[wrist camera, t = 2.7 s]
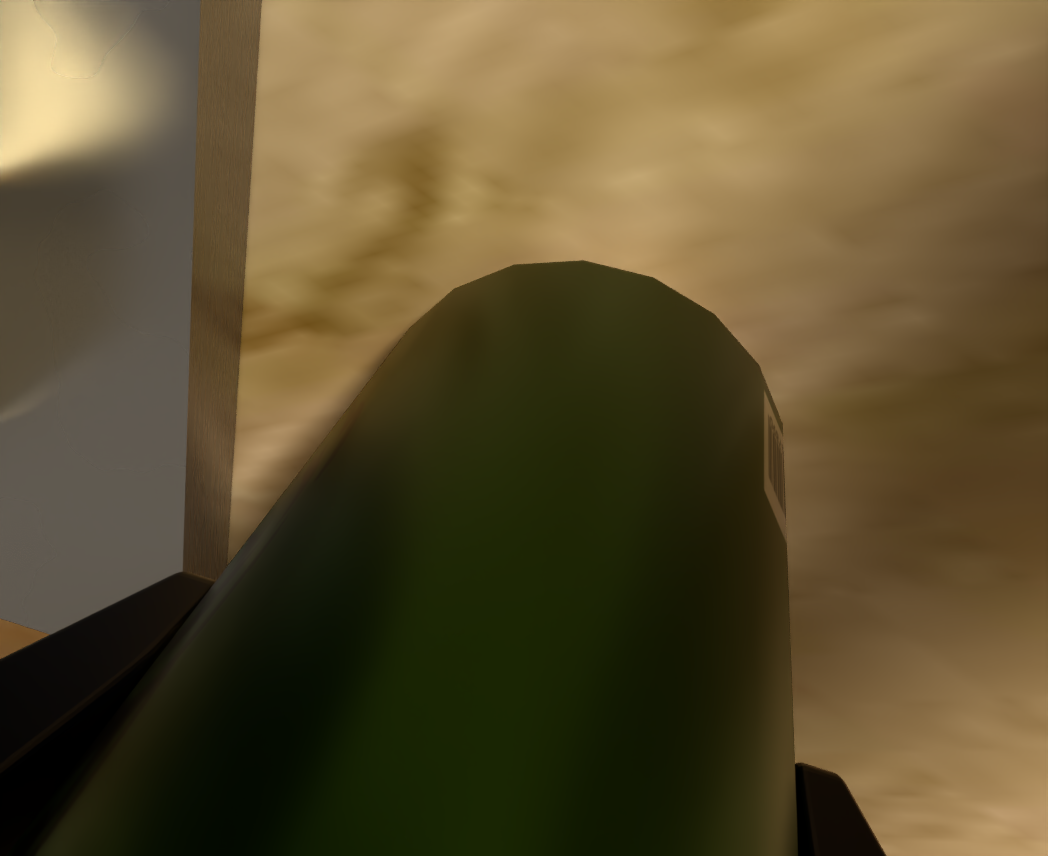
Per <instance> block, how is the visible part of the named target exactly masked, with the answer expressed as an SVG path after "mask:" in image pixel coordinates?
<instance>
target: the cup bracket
mask: <svg viewBox="0 0 1048 856" xmlns="http://www.w3.org/2000/svg"><path fill="white" fill-rule="evenodd" d="M261 3H262V0H0V619H4V620H7V621H10V622H13V623H16V624H19V625H22V626H25V627H29V628H32V629H35V630H38V631H41V632H44V633H47V634H50V635H51V634H53V633H55V632H57V631H59V630H61V629H63V628H65V627H67V626H69V625H71V624H73V623H75V622H77V621H79V620H81V619H83V618H85V617H87V616H89V615H91V614H93V613H95V612H97V611H99V610H101V609H103V608H105V607H107V606H109V605H112V604H114V603H116V602H118V601H120V600H122V599H124V598H126V597H128V596H130V595H132V594H134V593H136V592H138V591H140V590H142V589H144V588H146V587H148V586H150V585H152V584H154V583H156V582H158V581H160V580H162V579H164V578H166V577H168V576H170V575H172V574H175V573H178V572H182V571H185V572H190V573H194V574H197V575H200V576H203V577H207V578H210V579H213V580H216V581H217V579H218V578H219V577H220V575H221V574H222V573H223V571H224V570H225V569H226V567H227V553H228V537H229V521H230V504H231V488H232V472H233V456H234V440H235V424H236V407H237V391H238V375H239V359H240V343H241V327H242V310H243V294H244V278H245V262H246V246H247V230H248V213H249V197H250V181H251V165H252V149H253V133H254V116H255V100H256V84H257V68H258V52H259V36H260V19H261Z"/></svg>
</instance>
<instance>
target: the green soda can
mask: <svg viewBox="0 0 1048 856" xmlns="http://www.w3.org/2000/svg"><path fill="white" fill-rule="evenodd" d="M6 856H798V837H797V809H796V782H795V754H794V727H793V699H792V672H791V644H790V617H789V589H788V562H787V534H786V507H785V479H784V452H783V424H782V421H781V419H780V416H779V414H778V411H777V409H776V406H775V404H774V401H773V399H772V396H771V394H770V391H769V389H768V386H767V384H766V381H765V379H764V376H763V374H762V371H761V369H760V366H759V364H758V363H757V362H756V361H755V360H754V359H753V358H752V356H751V355H750V354H749V353H748V352H747V351H746V350H745V348H744V347H743V346H742V345H741V344H740V343H739V342H738V340H737V339H736V338H735V337H734V336H733V335H732V334H731V333H730V331H729V330H728V329H727V328H726V327H725V326H724V325H723V323H722V322H721V321H720V320H719V319H718V318H717V317H716V315H715V314H713V313H712V312H710V311H708V310H707V309H705V308H703V307H702V306H700V305H698V304H697V303H695V302H693V301H692V300H690V299H688V298H687V297H685V296H683V295H682V294H680V293H678V292H677V291H675V290H673V289H672V288H670V287H668V286H667V285H665V284H663V283H662V282H660V281H658V280H656V279H655V278H653V277H649V276H645V275H641V274H637V273H633V272H629V271H624V270H620V269H616V268H612V267H608V266H604V265H600V264H596V263H592V262H588V261H584V260H582V261H566V262H550V263H534V264H517V265H512V266H510V267H507V268H505V269H502V270H500V271H497V272H495V273H492V274H490V275H487V276H485V277H482V278H480V279H477V280H475V281H472V282H470V283H467V284H465V285H462V286H460V287H457V288H455V289H453V290H452V291H451V292H450V293H449V294H448V295H446V296H445V297H444V298H443V299H442V300H441V301H440V302H439V303H437V304H436V305H435V306H434V307H433V308H432V309H431V310H430V311H428V312H427V313H426V314H425V315H424V316H423V317H422V318H421V319H419V320H418V321H417V322H416V323H415V324H414V325H413V326H412V327H410V328H409V330H408V331H407V332H406V333H405V335H404V336H403V337H402V339H401V340H400V341H399V343H398V344H397V345H396V347H395V348H394V349H393V350H392V352H391V353H390V354H389V356H388V357H387V358H386V360H385V361H384V362H383V364H382V365H381V366H380V367H379V369H378V370H377V371H376V373H375V374H374V375H373V377H372V378H371V379H370V381H369V382H368V383H367V384H366V386H365V387H364V388H363V390H362V391H361V392H360V394H359V395H358V396H357V398H356V399H355V400H354V401H353V403H352V404H351V405H350V407H349V408H348V409H347V411H346V412H345V413H344V415H343V416H342V417H341V418H340V420H339V421H338V422H337V424H336V425H335V426H334V428H333V429H332V430H331V432H330V433H329V434H328V435H327V437H326V438H325V439H324V441H323V442H322V443H321V445H320V446H319V447H318V449H317V450H316V451H315V452H314V454H313V455H312V456H311V458H310V459H309V460H308V462H307V463H306V464H305V465H304V467H303V468H302V469H301V471H300V472H299V473H298V475H297V476H296V477H295V479H294V480H293V481H292V482H291V484H290V485H289V486H288V488H287V489H286V490H285V492H284V493H283V494H282V496H281V497H280V498H279V499H278V501H277V502H276V503H275V505H274V506H273V507H272V509H271V510H270V511H269V513H268V514H267V515H266V516H265V518H264V519H263V520H262V522H261V523H260V524H259V526H258V527H257V528H256V530H255V531H254V532H253V533H252V535H251V536H250V537H249V539H248V540H247V541H246V543H245V544H244V545H243V547H242V548H241V549H240V550H239V552H238V553H237V554H236V556H235V557H234V558H233V560H232V561H231V562H230V564H229V565H228V566H227V567H226V569H225V570H224V571H223V573H222V574H221V575H220V577H219V578H218V579H217V581H216V582H215V583H214V584H213V586H212V587H211V588H210V590H209V591H208V592H207V594H206V595H205V596H204V598H203V599H202V600H201V601H200V603H199V604H198V605H197V607H196V608H195V609H194V611H193V612H192V613H191V615H190V616H189V617H188V618H187V620H186V621H185V622H184V624H183V625H182V626H181V628H180V629H179V630H178V631H177V633H176V634H175V635H174V637H173V638H172V639H171V641H170V642H169V643H168V645H167V646H166V647H165V648H164V650H163V651H162V652H161V654H160V655H159V656H158V658H157V659H156V660H155V662H154V663H153V664H152V665H151V667H150V668H149V669H148V671H147V672H146V673H145V675H144V676H143V677H142V679H141V680H140V681H139V682H138V684H137V685H136V686H135V688H134V689H133V690H132V692H131V693H130V694H129V696H128V697H127V698H126V699H125V701H124V702H123V703H122V705H121V706H120V707H119V709H118V710H117V711H116V713H115V714H114V715H113V716H112V718H111V719H110V720H109V722H108V723H107V724H106V726H105V727H104V728H103V730H102V731H101V732H100V733H99V735H98V736H97V737H96V739H95V740H94V741H93V743H92V744H91V745H90V747H89V748H88V749H87V750H86V752H85V753H84V754H83V756H82V757H81V758H80V760H79V761H78V762H77V764H76V765H75V766H74V767H73V769H72V770H71V771H70V773H69V774H68V775H67V777H66V778H65V779H64V780H63V782H62V783H61V784H60V786H59V787H58V788H57V790H56V791H55V792H54V794H53V795H52V796H51V797H50V799H49V800H48V801H47V803H46V804H45V805H44V807H43V808H42V809H41V811H40V812H39V813H38V814H37V816H36V817H35V818H34V820H33V821H32V822H31V824H30V825H29V826H28V828H27V829H26V830H25V831H24V833H23V834H22V835H21V837H20V838H19V839H18V841H17V842H16V843H15V845H14V846H13V847H12V848H11V850H10V851H9V852H8V854H7V855H6Z"/></svg>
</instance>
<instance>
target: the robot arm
mask: <svg viewBox="0 0 1048 856" xmlns="http://www.w3.org/2000/svg"><path fill="white" fill-rule="evenodd" d="M215 582H216V580H213V579H210V578H207V577H203V576H200V575H197V574H194V573H190V572H185V571H182V572H178V573H175V574H172V575H170V576H168V577H166V578H164V579H162V580H160V581H158V582H156V583H154V584H152V585H150V586H148V587H146V588H144V589H142V590H140V591H138V592H136V593H134V594H132V595H130V596H128V597H126V598H124V599H122V600H120V601H118V602H116V603H114V604H112V605H109V606H107V607H105V608H103V609H101V610H99V611H97V612H95V613H93V614H91V615H89V616H87V617H85V618H83V619H81V620H79V621H77V622H75V623H73V624H71V625H69V626H67V627H65V628H63V629H61V630H59V631H57V632H55V633H53V634H51V635H49V636H46V637H44V638H42V639H40V640H38V641H36V642H34V643H32V644H30V645H28V646H26V647H24V648H22V649H20V650H18V651H16V652H14V653H12V654H10V655H8V656H6V657H4V658H2V659H0V856H6V855H7V854H8V852H9V851H10V850H11V848H12V847H13V846H14V845H15V843H16V842H17V841H18V839H19V838H20V837H21V835H22V834H23V833H24V831H25V830H26V829H27V828H28V826H29V825H30V824H31V822H32V821H33V820H34V818H35V817H36V816H37V814H38V813H39V812H40V811H41V809H42V808H43V807H44V805H45V804H46V803H47V801H48V800H49V799H50V797H51V796H52V795H53V794H54V792H55V791H56V790H57V788H58V787H59V786H60V784H61V783H62V782H63V780H64V779H65V778H66V777H67V775H68V774H69V773H70V771H71V770H72V769H73V767H74V766H75V765H76V764H77V762H78V761H79V760H80V758H81V757H82V756H83V754H84V753H85V752H86V750H87V749H88V748H89V747H90V745H91V744H92V743H93V741H94V740H95V739H96V737H97V736H98V735H99V733H100V732H101V731H102V730H103V728H104V727H105V726H106V724H107V723H108V722H109V720H110V719H111V718H112V716H113V715H114V714H115V713H116V711H117V710H118V709H119V707H120V706H121V705H122V703H123V702H124V701H125V699H126V698H127V697H128V696H129V694H130V693H131V692H132V690H133V689H134V688H135V686H136V685H137V684H138V682H139V681H140V680H141V679H142V677H143V676H144V675H145V673H146V672H147V671H148V669H149V668H150V667H151V665H152V664H153V663H154V662H155V660H156V659H157V658H158V656H159V655H160V654H161V652H162V651H163V650H164V648H165V647H166V646H167V645H168V643H169V642H170V641H171V639H172V638H173V637H174V635H175V634H176V633H177V631H178V630H179V629H180V628H181V626H182V625H183V624H184V622H185V621H186V620H187V618H188V617H189V616H190V615H191V613H192V612H193V611H194V609H195V608H196V607H197V605H198V604H199V603H200V601H201V600H202V599H203V598H204V596H205V595H206V594H207V592H208V591H209V590H210V588H211V587H212V586H213V584H214V583H215ZM795 782H796V809H797V837H798V856H886V854H885V852H884V851H883V849H882V847H881V845H880V844H879V842H878V840H877V838H876V836H875V835H874V833H873V831H872V829H871V828H870V826H869V824H868V822H867V821H866V819H865V817H864V815H863V814H862V812H861V810H860V808H859V806H858V805H857V803H856V801H855V799H854V798H853V796H852V794H851V792H850V791H849V789H848V787H847V785H846V784H845V782H844V781H843V779H842V778H841V777H840V776H839V775H837V774H835V773H833V772H830V771H827V770H824V769H820V768H817V767H814V766H811V765H808V764H804V763H795Z"/></svg>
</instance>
